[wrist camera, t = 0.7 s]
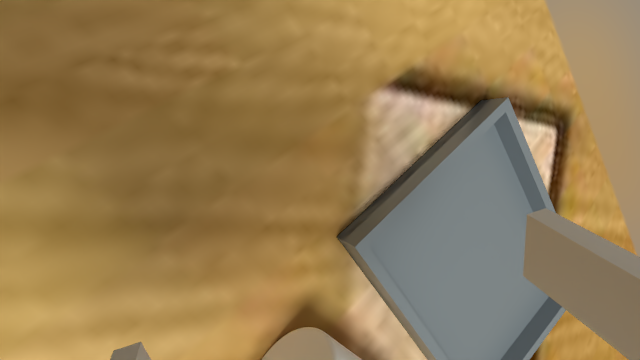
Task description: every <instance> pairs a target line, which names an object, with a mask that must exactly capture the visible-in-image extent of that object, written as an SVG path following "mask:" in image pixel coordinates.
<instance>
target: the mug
mask: <svg viewBox="0 0 640 360" xmlns="http://www.w3.org/2000/svg"><path fill="white" fill-rule="evenodd" d="M262 360H362V359H361V358H359V357H358V356H356V355H355V354H354V353H352V352H351V351H350V350H348V349H347V348H346V347H344V346H343V345H341V344H340V343H339V342H337V341H336V340H335V339H333V338H332V337H331V336H329V335H328V334H327V333H325V332H324V331H322V330H320V329H318V328H314V327H304V328H299V329H296V330H294V331H292V332H290V333H288V334H286V335H285V336H283V337H282V338H281V339H280V340H278V341H277V342H276V343H275V344H274V345H273V346H272V347H271V348H270V349H269V351H268V352H267V353H266V354H265V355H264V357H263V358H262Z"/></svg>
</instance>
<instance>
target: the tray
mask: <svg viewBox="0 0 640 360" xmlns="http://www.w3.org/2000/svg"><path fill="white" fill-rule="evenodd" d="M545 208H546V209H548V210H550V211H552V212H554V213H556V212H555V210H554V207H553V205H552V203H551V200H550V198H549V195H548V193H547V190H546V188H545V186H544V183H543V181H542V178H541V176H540V173H539V171H538V169H537V166H536V164H535V161H534V159H533V156H532V154H531V152H530V149H529V147H528V144H527V142H526V139H525V137H524V135H523V132H522V130H521V127H520V125H519V122H518V120H517V118H516V115H515V113H514V110H513V108H512V105H511V103H510V101H509V98H508V97H507V98H498V99H489V100H481V101H480V102H479V103H478V104H477V105H476V106H475V107H474V108H473V109H472V110H470V111H469V112H468V113H467V114H466V115H465V116H464V117H463V118H462V119H461V120H460V121H459V122H458V123H457V124H456V125H455V126H454V127H453V128H451V129H450V130H449V131H448V132H447V133H446V134H445V135H444V136H443V137H442V138H441V139H440V140H439V141H438V142H437V143H436V144H435V145H434V146H432V147H431V148H430V149H429V150H428V151H427V152H426V153H425V154H424V155H423V156H422V157H421V158H420V159H419V160H418V161H417V162H416V163H414V164H413V165H412V166H411V167H410V168H409V169H408V170H407V171H406V172H405V173H404V174H403V175H402V176H401V177H400V178H399V179H398V180H397V181H395V182H394V183H393V184H392V185H391V186H390V187H389V188H388V189H387V190H386V191H385V192H384V193H383V194H382V195H381V196H380V197H379V198H378V199H376V200H375V201H374V202H373V203H372V204H371V205H370V206H369V207H368V208H367V209H366V210H365V211H364V212H363V213H362V214H361V215H360V216H358V217H357V218H356V219H355V220H354V221H353V222H352V223H351V224H350V225H349V226H348V227H347V228H346V229H345V230H344V231H343V232H342V233H341V234H339V235H338V236H337V238H338V239H339V241H340V242H341V243H342V245H343V246H344V247H345V249H346V250H347V251H348V253H349V254H350V255H351V257H352V258H353V260H354V261H355V262H356V264H357V265H358V266H359V268H360V269H361V270H362V272H363V273H364V274H365V276H366V277H367V278H368V280H369V281H370V282H371V284H372V285H373V287H374V288H375V289H376V291H377V292H378V293H379V295H380V296H381V297H382V299H383V300H384V301H385V303H386V304H387V305H388V307H389V308H390V310H391V311H392V312H393V314H394V315H395V316H396V318H397V319H398V320H399V322H400V323H401V324H402V326H403V327H404V328H405V330H406V331H407V333H408V334H409V335H410V337H411V338H412V339H413V341H414V342H415V343H416V345H417V346H418V347H419V349H420V350H421V351H422V353H423V354H424V356H425V357H426V358H427V360H529V359H530V358H531V357H532V355H533V354H534V353H535V351H536V350H537V349H538V347H539V346H540V344H541V343H542V342H543V340H544V339H545V338H546V336H547V335H548V334H549V332H550V331H551V330H552V328H553V327H554V326H555V324H556V323H557V321H558V320H559V319H560V317H561V316H562V315H563V313H564V312H565V311H566V309H564V308H563V307H562V306H560V305H559V304H558V303H557V302H555V301H554V300H553V299H552V298H550V297H549V296H548V295H547V294H545V293H544V292H543V291H541V290H540V289H539V288H538V287H536V286H535V285H534V284H533V283H531V282H530V281H529V280H528V279H526V278H525V277H524V276H523V268H524V253H525V237H526V221H527V214H530V213H533V212H536V211H539V210H542V209H545Z"/></svg>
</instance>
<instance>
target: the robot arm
mask: <svg viewBox="0 0 640 360" xmlns="http://www.w3.org/2000/svg"><path fill="white" fill-rule="evenodd" d="M523 276H524V277H525V278H526V279H528V280H529V281H530V282H531V283H533V284H534V285H535V286H536V287H538V288H539V289H540V290H541V291H543V292H544V293H545V294H547V295H548V296H549V297H550V298H552V299H553V300H554V301H555V302H557V303H558V304H559V305H560V306H562V307H563V308H564V309H566V310H567V311H568V312H569V313H571V314H572V315H573V316H574V317H576V318H577V319H578V320H579V321H581V322H582V323H583V324H585V325H586V326H587V327H588V328H590V329H591V330H592V331H593V332H595V333H596V334H597V335H598V336H600V337H601V338H602V339H604V340H605V341H606V342H607V343H609V344H610V345H611V346H612V347H614V348H615V349H616V350H617V351H619V352H620V353H621V354H623V355H624V356H625V357H626V358H628V359H629V360H640V257H638V256H636V255H634V254H633V253H631V252H629V251H627V250H625V249H623V248H621V247H619V246H617V245H615V244H613V243H611V242H610V241H608V240H606V239H604V238H602V237H600V236H598V235H596V234H594V233H592V232H590V231H588V230H587V229H585V228H583V227H581V226H579V225H577V224H575V223H573V222H571V221H569V220H567V219H565V218H563V217H562V216H560V215H558V214H556V213H554V212H552V211H550V210H548V209H546V208H545V209H542V210H539V211H536V212H533V213H530V214H527V221H526V237H525V253H524V268H523ZM110 360H151V359H150V357H149V355H148V353H147V352H146V350H145V348H144V346H143V345H142V343H141V342H139V343H136V344H133V345H130V346H127V347H124V348H121V349H117V350H114V351H113V354H112V357H111V359H110Z"/></svg>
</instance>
